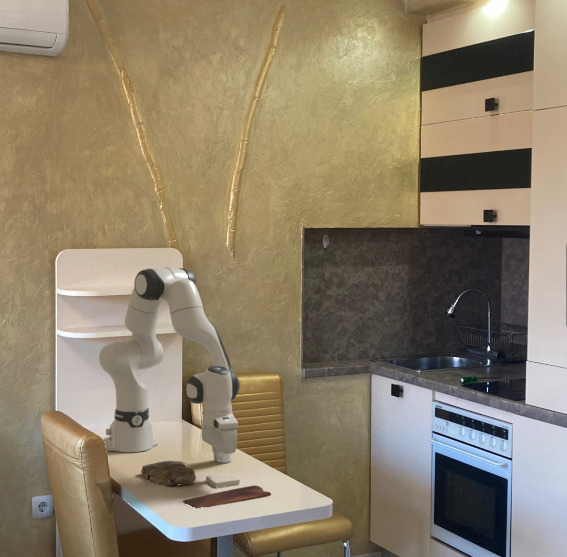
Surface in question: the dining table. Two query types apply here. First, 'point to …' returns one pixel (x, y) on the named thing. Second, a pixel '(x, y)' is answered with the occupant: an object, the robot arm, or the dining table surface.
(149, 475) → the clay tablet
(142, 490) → the dining table surface
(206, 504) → the wooden tablet
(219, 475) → the tile
